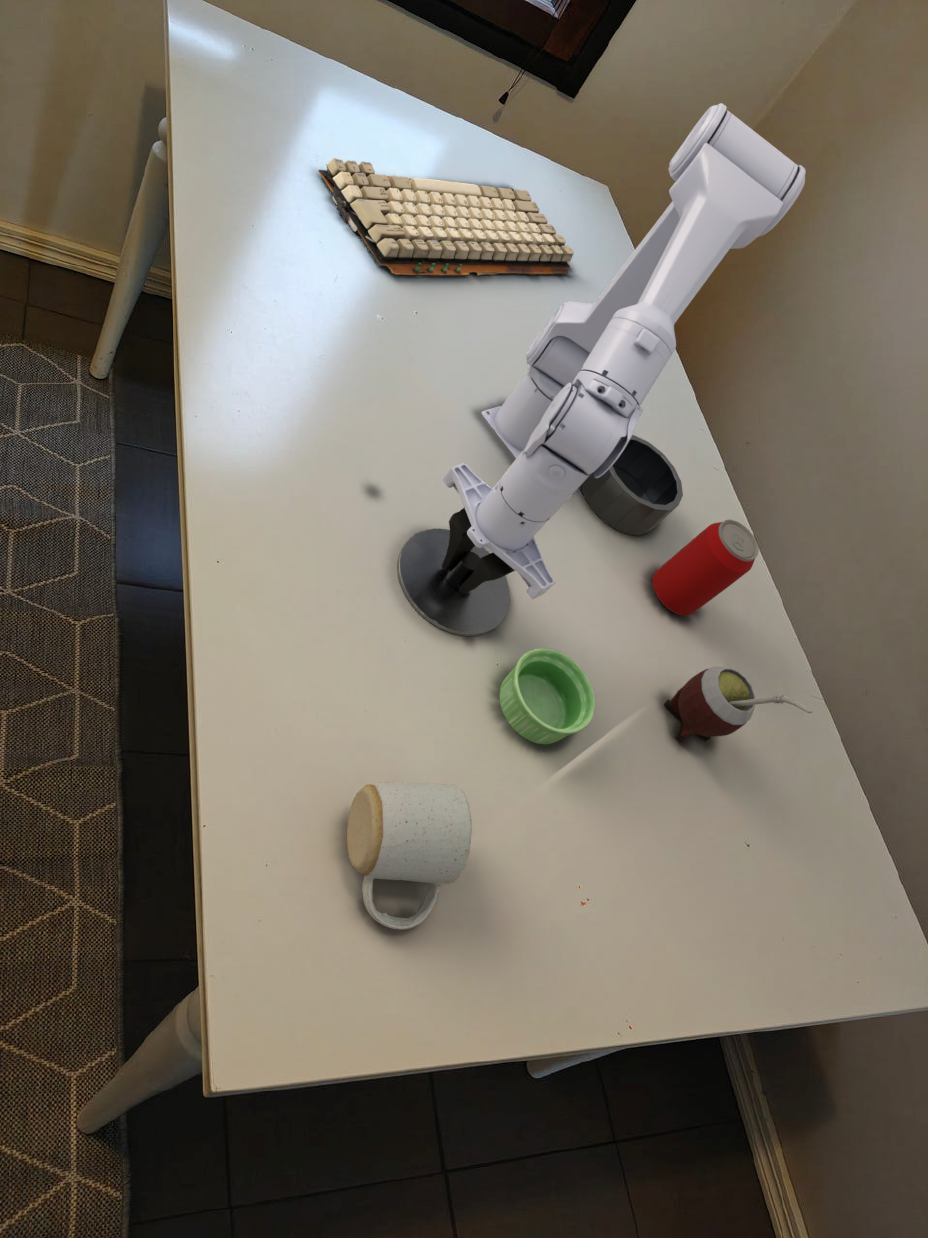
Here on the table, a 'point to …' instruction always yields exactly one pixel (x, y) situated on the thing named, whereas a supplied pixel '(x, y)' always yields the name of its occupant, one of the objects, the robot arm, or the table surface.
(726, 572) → the beverage can
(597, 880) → the table surface
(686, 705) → the mate gourd
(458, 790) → the ceramic mug
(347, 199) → the mechanical keyboard
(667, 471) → the tin
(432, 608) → the tin lid
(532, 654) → the ramekin
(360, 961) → the table surface
